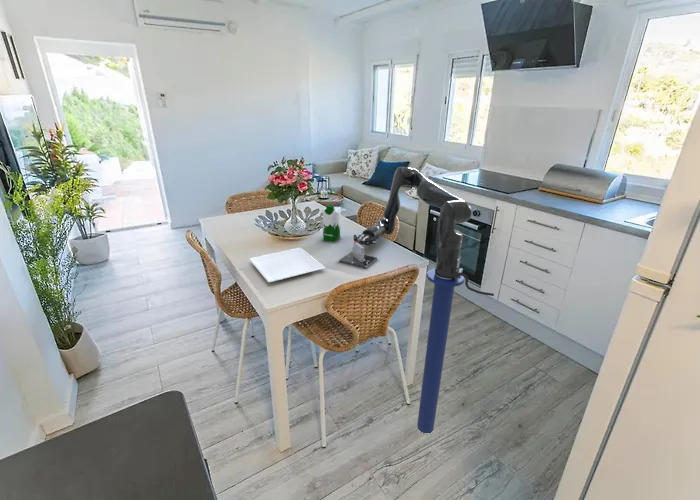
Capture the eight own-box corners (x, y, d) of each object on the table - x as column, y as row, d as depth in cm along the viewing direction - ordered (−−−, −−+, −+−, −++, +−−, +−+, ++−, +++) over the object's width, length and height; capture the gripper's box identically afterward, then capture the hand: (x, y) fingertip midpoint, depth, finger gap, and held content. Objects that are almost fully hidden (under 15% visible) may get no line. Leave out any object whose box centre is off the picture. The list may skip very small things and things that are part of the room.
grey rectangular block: (363, 261, 161) (364, 247, 158) (360, 262, 161) (361, 247, 158) (356, 255, 168) (356, 241, 165) (353, 255, 167) (353, 241, 164)
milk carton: (321, 241, 188) (320, 206, 180) (327, 236, 196) (327, 201, 188) (336, 244, 186) (336, 207, 178) (342, 238, 194) (342, 203, 186)
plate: (325, 271, 154) (325, 267, 153) (268, 286, 141) (268, 281, 140) (300, 250, 174) (300, 246, 173) (249, 262, 161) (248, 258, 160)
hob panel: (377, 260, 167) (377, 257, 166) (365, 269, 157) (365, 266, 156) (351, 254, 173) (351, 251, 172) (338, 263, 163) (338, 259, 162)
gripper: (360, 225, 182) (344, 234, 168) (384, 229, 176) (368, 239, 162) (360, 238, 184) (344, 249, 170) (383, 243, 178) (368, 254, 164)
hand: (356, 244), depth 166 cm, fingers closed
